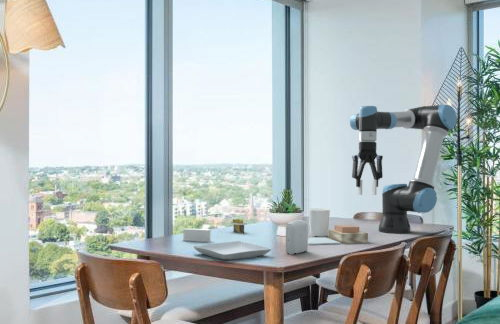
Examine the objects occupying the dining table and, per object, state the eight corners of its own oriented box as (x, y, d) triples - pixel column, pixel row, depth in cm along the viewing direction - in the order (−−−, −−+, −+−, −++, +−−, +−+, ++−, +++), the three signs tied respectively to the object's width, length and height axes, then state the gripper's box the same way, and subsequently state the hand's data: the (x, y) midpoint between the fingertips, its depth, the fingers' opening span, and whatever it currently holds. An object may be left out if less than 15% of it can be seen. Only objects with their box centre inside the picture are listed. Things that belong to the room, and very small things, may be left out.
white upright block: (293, 255, 208) (293, 221, 208) (283, 253, 211) (284, 220, 211) (309, 251, 216) (309, 219, 216) (299, 250, 219) (300, 218, 219)
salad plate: (223, 263, 192) (223, 253, 192) (192, 254, 210) (192, 245, 209) (272, 257, 205) (272, 248, 205) (239, 249, 222) (239, 240, 222)
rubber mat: (325, 238, 251) (325, 237, 251) (340, 244, 236) (340, 242, 236) (295, 239, 247) (295, 238, 247) (308, 245, 232) (308, 243, 232)
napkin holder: (217, 242, 241) (217, 228, 241) (196, 244, 233) (197, 231, 233) (195, 238, 252) (195, 225, 252) (175, 241, 244) (175, 227, 244)
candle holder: (329, 237, 255) (329, 210, 255) (307, 236, 257) (307, 210, 257) (330, 234, 265) (330, 208, 265) (309, 233, 267) (309, 208, 267)
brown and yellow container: (239, 236, 259) (239, 222, 259) (215, 232, 273) (216, 218, 273) (259, 234, 267) (259, 220, 267) (235, 230, 281) (235, 217, 280)
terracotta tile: (351, 230, 250) (351, 224, 250) (359, 232, 242) (359, 226, 242) (334, 230, 248) (334, 225, 248) (342, 232, 240) (342, 227, 240)
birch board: (353, 238, 253) (353, 229, 253) (367, 242, 240) (367, 233, 240) (328, 238, 250) (328, 229, 250) (341, 243, 237) (341, 234, 237)
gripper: (351, 141, 241) (350, 195, 241) (391, 141, 246) (391, 195, 246) (343, 141, 248) (343, 194, 249) (383, 142, 253) (382, 193, 253)
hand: (367, 194), depth 247 cm, fingers open, 6 cm apart
